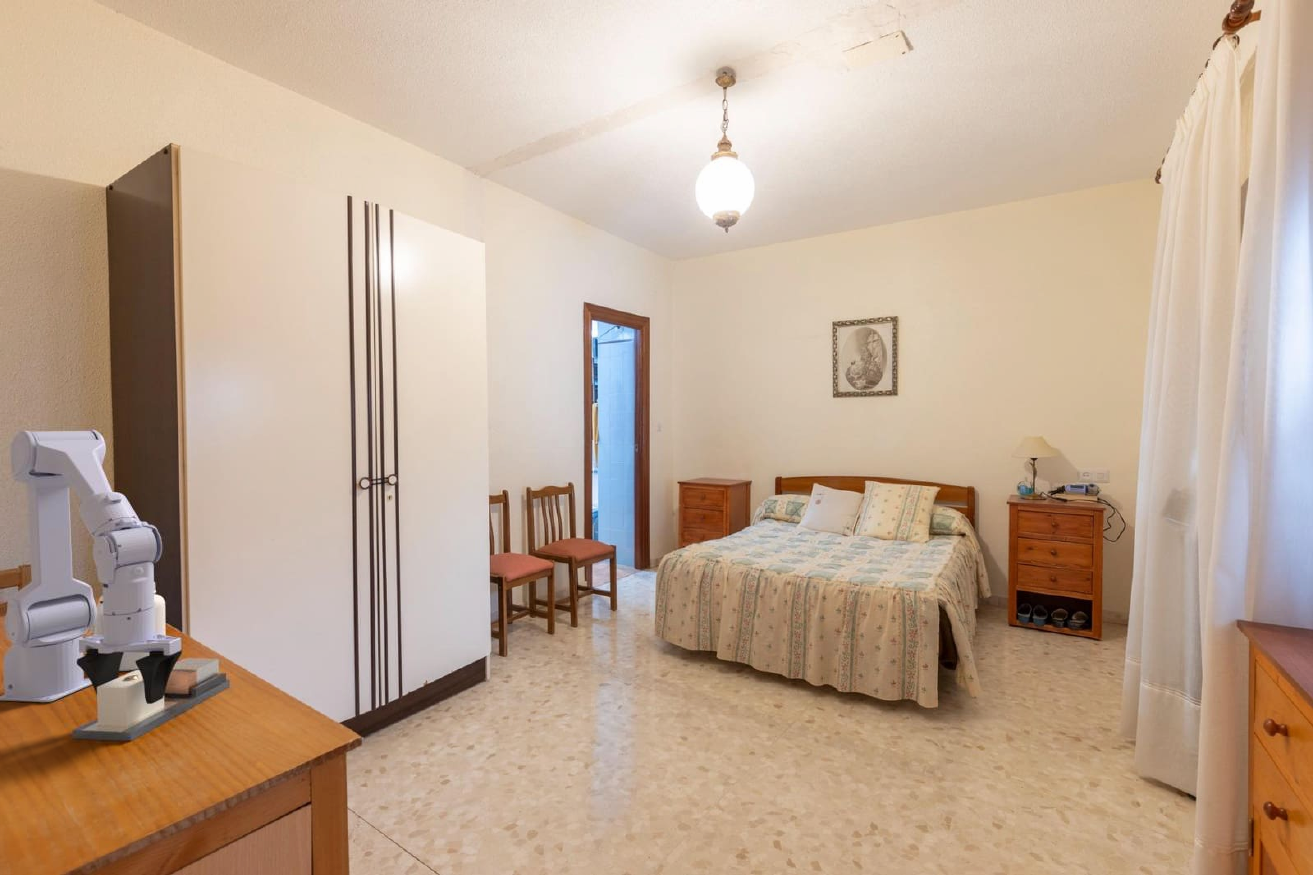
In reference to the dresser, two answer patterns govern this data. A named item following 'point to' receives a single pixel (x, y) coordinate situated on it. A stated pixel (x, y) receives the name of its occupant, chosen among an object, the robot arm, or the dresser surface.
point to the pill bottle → (159, 609)
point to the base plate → (154, 713)
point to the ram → (191, 674)
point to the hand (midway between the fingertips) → (131, 700)
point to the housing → (124, 700)
